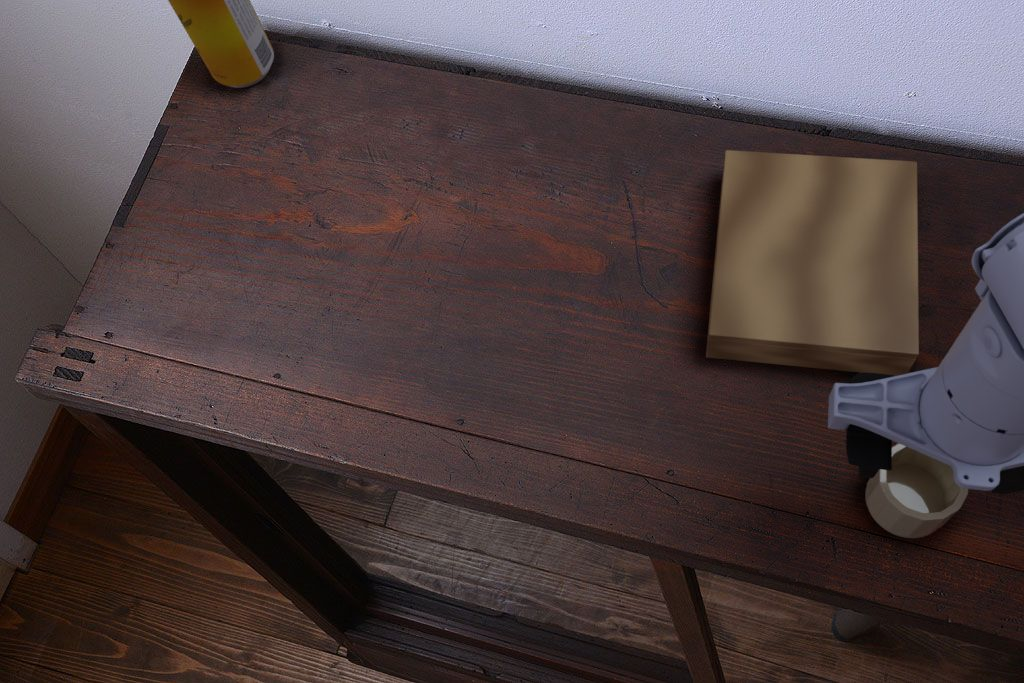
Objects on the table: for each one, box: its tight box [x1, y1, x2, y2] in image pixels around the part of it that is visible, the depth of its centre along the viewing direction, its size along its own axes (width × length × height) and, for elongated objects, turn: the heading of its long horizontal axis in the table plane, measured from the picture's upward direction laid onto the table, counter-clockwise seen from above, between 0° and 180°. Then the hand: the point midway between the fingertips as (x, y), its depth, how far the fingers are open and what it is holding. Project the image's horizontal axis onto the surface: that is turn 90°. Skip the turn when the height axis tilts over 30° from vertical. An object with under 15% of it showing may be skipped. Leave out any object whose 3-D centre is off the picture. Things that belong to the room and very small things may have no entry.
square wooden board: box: [705, 149, 920, 376], centre depth 72 cm, size 14×16×4 cm
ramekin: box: [864, 443, 969, 539], centre depth 63 cm, size 5×5×4 cm
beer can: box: [167, 0, 275, 89], centre depth 83 cm, size 6×6×15 cm
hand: (930, 469), depth 60 cm, fingers open, 7 cm apart
